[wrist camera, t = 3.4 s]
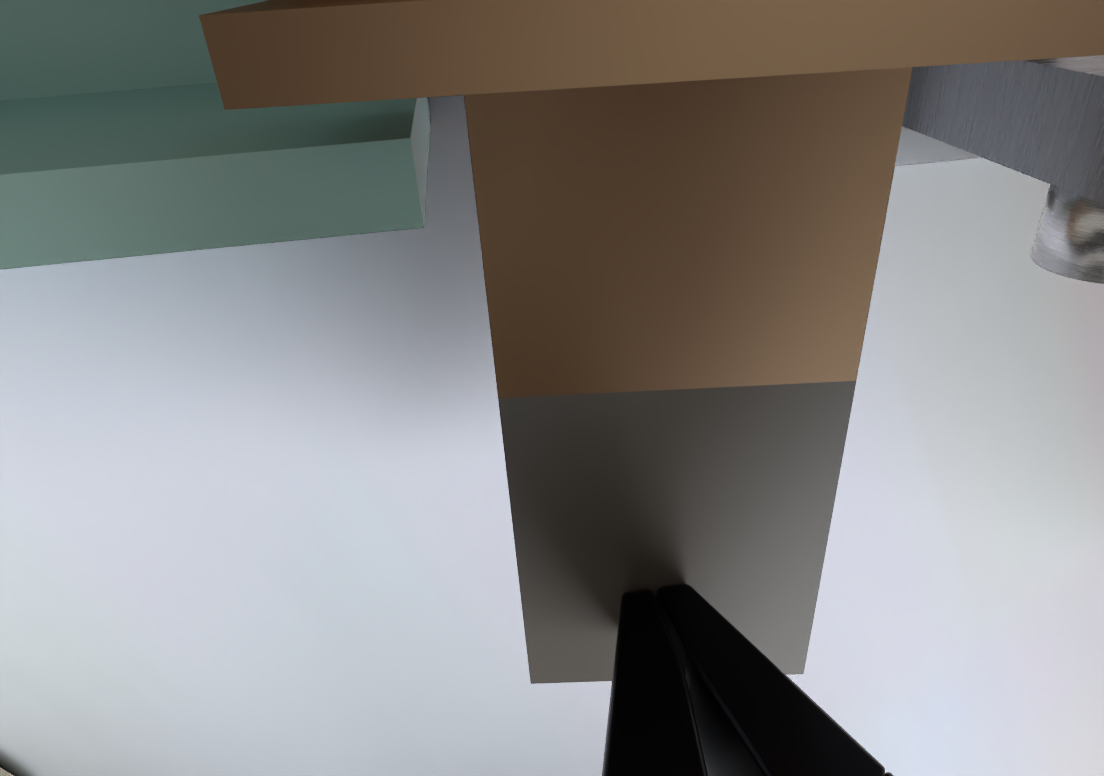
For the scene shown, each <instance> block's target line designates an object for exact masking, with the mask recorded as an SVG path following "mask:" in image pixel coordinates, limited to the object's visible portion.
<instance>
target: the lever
mask: <svg viewBox="0 0 1104 776" xmlns="http://www.w3.org/2000/svg"><path fill="white" fill-rule="evenodd" d="M199 18H200V22H201V25H202V29H203V33H204V36H205V40H206V43H207V47H208V51H209V54H210V58H211V62H212V65H213V69H214V73H215V76H216V80H217V83H218V87H219V91H220V94H221V98H222V102H223V105H224V109H225V110H232V109H248V108H264V107H280V106H296V105H312V104H328V103H344V102H360V101H376V100H392V99H408V98H424V97H440V96H456V95H464V101H465V110H466V119H467V128H468V136H469V145H470V154H471V163H472V171H473V180H474V189H475V198H476V206H477V215H478V224H479V233H480V242H481V250H482V259H483V268H484V277H485V285H486V294H487V303H488V312H489V320H490V329H491V338H492V347H493V356H494V364H495V373H496V382H497V391H498V399H499V408H500V417H501V426H502V434H503V443H504V452H505V461H506V470H507V478H508V487H509V496H510V505H511V513H512V522H513V531H514V540H515V548H516V557H517V566H518V575H519V584H520V592H521V601H522V610H523V619H524V627H525V636H526V645H527V654H528V663H529V671H530V680H531V684H534V683H562V682H590V681H612V679H613V670H614V660H615V651H616V642H617V633H618V624H619V614H620V605H621V598H622V595H623V594H624V593H625V592H631V591H637V590H644V589H648V590H650V591H651V592H652V593H653V594H654V596H655V599H656V601H657V598H658V591H659V589H660V588H661V587H664V586H671V585H677V584H688V585H690V586H691V587H693V588H694V589H695V590H696V591H697V592H698V593H699V594H700V595H701V596H702V597H703V598H704V599H705V600H706V601H708V602H709V603H710V604H711V605H712V606H713V607H714V608H715V609H716V610H717V611H718V612H719V613H720V614H721V615H722V616H723V617H725V618H726V619H727V620H728V621H729V622H730V623H731V624H732V625H733V626H734V627H735V628H736V629H737V630H738V631H739V632H741V633H742V634H743V635H744V636H745V637H746V638H747V639H748V640H749V641H750V642H751V643H752V644H753V645H754V646H755V647H757V648H758V649H759V650H760V651H761V652H762V653H763V654H764V655H765V656H766V657H767V658H768V659H769V660H770V661H771V662H773V663H774V664H775V665H776V666H777V667H778V668H779V669H780V670H781V671H782V672H783V673H784V674H803V673H804V668H805V662H806V656H807V651H808V645H809V640H810V634H811V629H812V623H813V618H814V612H815V606H816V601H817V595H818V590H819V584H820V579H821V573H822V568H823V562H824V556H825V551H826V545H827V540H828V534H829V529H830V523H831V518H832V512H833V506H834V501H835V495H836V490H837V484H838V479H839V473H840V468H841V462H842V456H843V451H844V445H845V440H846V434H847V429H848V423H849V418H850V412H851V406H852V401H853V395H854V390H855V384H856V379H857V373H858V368H859V362H860V356H861V351H862V345H863V340H864V334H865V329H866V323H867V318H868V312H869V306H870V301H871V295H872V290H873V284H874V279H875V273H876V268H877V262H878V256H879V251H880V245H881V240H882V234H883V229H884V223H885V218H886V212H887V206H888V201H889V195H890V190H891V184H892V179H893V173H894V168H895V162H896V156H897V151H898V145H899V140H900V134H901V129H902V123H903V118H904V112H905V106H906V101H907V95H908V90H909V84H910V79H911V73H912V68H913V67H922V66H938V65H954V64H970V63H986V62H1002V61H1018V60H1034V59H1050V58H1066V57H1082V56H1098V55H1104V0H268V1H263V2H259V3H254V4H249V5H245V6H240V7H235V8H231V9H226V10H221V11H217V12H212V13H207V14H203V15H199Z"/></svg>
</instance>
